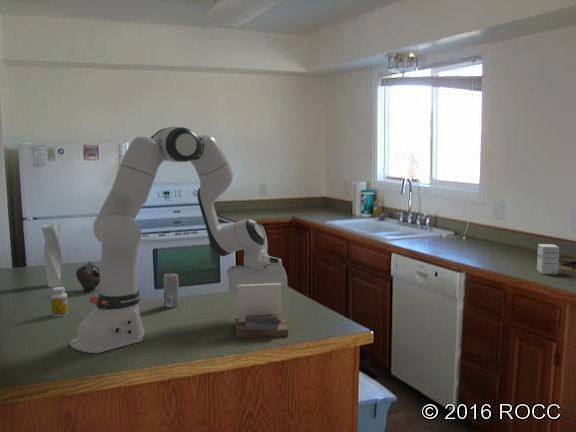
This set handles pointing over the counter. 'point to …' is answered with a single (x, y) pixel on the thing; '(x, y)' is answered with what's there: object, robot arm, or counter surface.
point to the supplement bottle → (59, 302)
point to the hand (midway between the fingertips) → (259, 299)
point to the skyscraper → (52, 254)
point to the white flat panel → (259, 300)
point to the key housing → (261, 326)
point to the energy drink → (171, 290)
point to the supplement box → (548, 259)
